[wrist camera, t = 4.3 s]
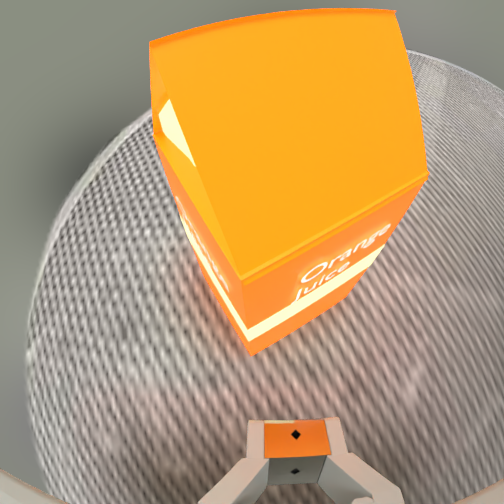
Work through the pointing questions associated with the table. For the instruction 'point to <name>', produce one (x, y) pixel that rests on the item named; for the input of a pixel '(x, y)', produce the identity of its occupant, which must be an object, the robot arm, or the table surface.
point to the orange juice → (287, 155)
